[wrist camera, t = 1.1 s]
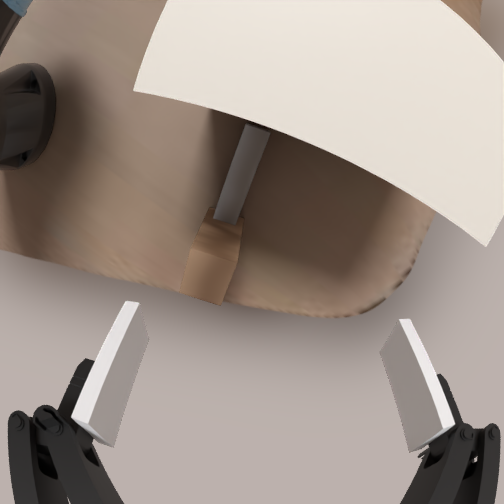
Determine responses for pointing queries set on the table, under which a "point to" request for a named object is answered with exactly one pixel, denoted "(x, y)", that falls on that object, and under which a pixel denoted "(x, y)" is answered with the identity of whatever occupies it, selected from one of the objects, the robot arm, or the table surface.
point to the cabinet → (351, 88)
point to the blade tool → (224, 225)
